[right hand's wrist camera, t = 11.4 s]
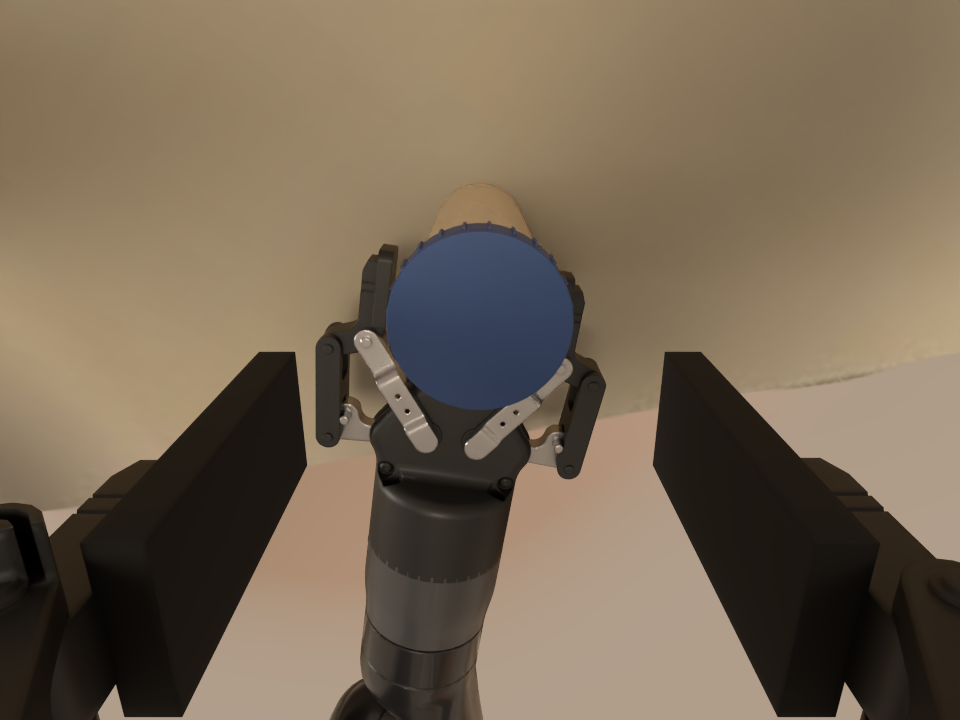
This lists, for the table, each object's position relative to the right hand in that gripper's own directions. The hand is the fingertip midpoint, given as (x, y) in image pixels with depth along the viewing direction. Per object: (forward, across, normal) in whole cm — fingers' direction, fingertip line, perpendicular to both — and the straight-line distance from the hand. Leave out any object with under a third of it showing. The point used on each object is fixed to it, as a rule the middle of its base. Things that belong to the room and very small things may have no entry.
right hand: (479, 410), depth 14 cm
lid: (+7, 0, 0) cm, 7 cm away
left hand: (+18, 0, 0) cm, 18 cm away
